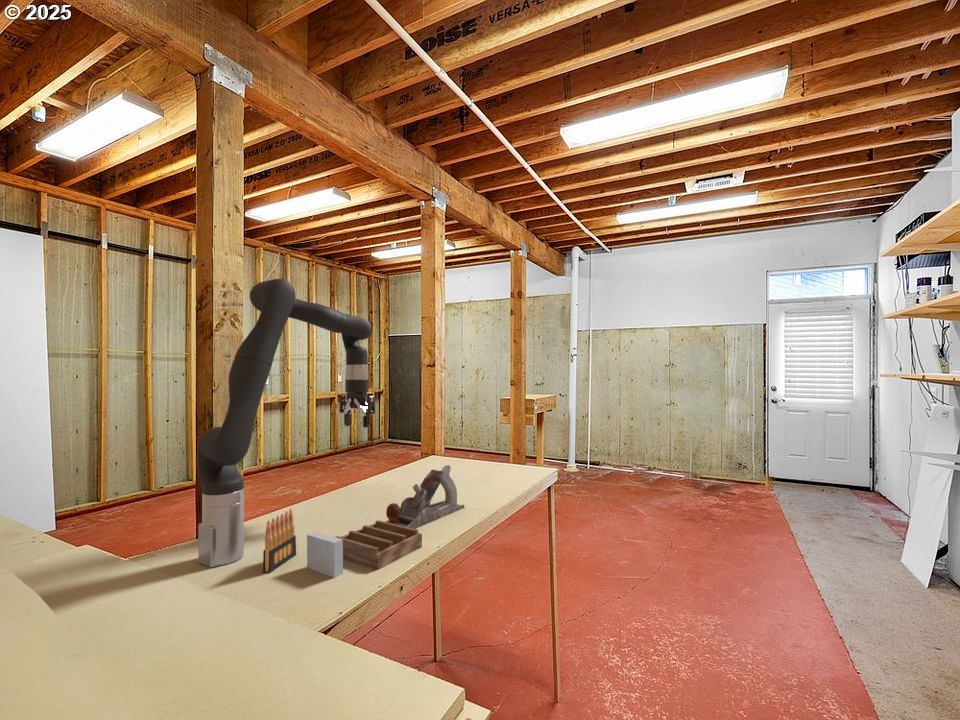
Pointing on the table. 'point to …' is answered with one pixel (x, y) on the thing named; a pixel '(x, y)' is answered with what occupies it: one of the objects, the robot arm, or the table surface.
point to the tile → (325, 554)
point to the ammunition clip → (279, 542)
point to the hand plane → (426, 502)
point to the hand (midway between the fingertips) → (356, 426)
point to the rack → (380, 544)
